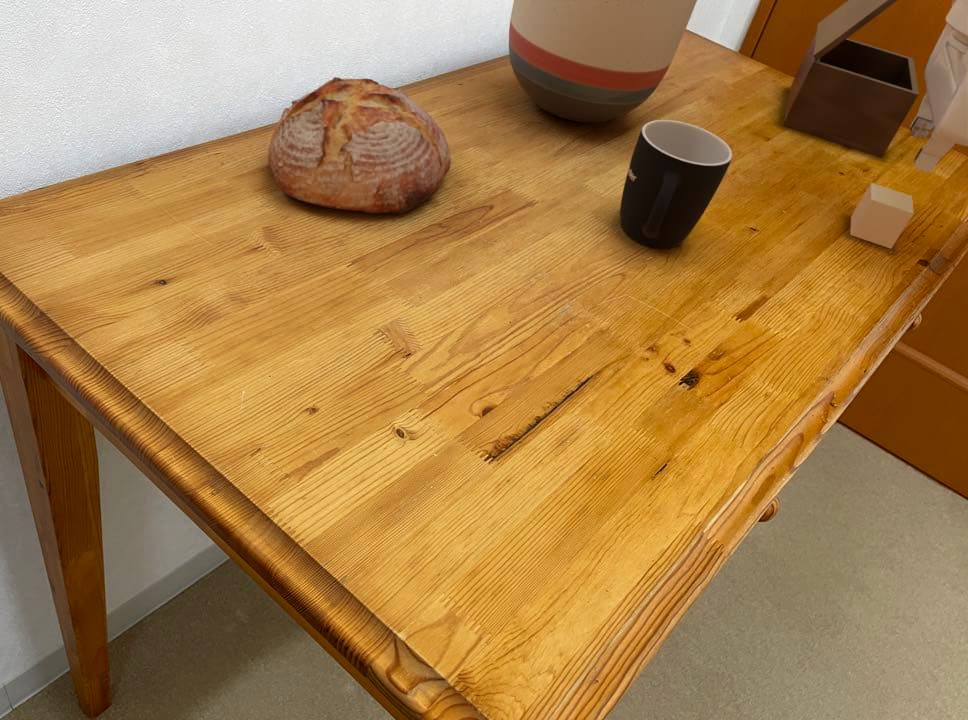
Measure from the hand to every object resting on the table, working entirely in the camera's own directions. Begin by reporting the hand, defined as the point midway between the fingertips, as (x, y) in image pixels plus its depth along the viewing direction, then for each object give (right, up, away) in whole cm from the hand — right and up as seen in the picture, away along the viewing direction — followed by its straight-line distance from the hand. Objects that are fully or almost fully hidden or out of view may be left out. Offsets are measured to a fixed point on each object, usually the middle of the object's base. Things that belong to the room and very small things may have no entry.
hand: (918, 150), depth 90 cm
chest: (+6, +13, +31) cm, 34 cm away
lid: (+6, +25, +21) cm, 33 cm away
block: (-2, -7, +7) cm, 10 cm away
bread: (-59, -4, -4) cm, 59 cm away
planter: (-34, +10, +17) cm, 40 cm away
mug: (-30, -10, -3) cm, 31 cm away
